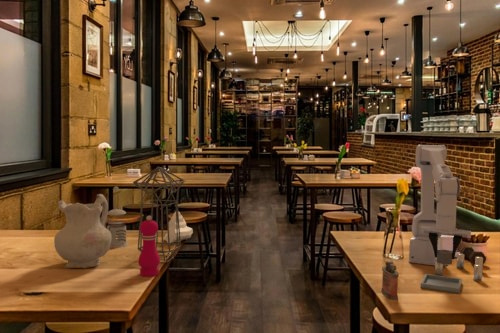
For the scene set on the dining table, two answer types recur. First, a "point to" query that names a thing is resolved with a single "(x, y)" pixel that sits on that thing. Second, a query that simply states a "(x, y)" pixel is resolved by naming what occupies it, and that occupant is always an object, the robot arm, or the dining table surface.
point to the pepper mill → (149, 249)
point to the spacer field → (460, 265)
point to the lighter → (390, 281)
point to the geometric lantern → (162, 171)
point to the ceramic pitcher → (83, 233)
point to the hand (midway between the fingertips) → (444, 257)
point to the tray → (441, 283)
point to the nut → (444, 256)
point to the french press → (115, 227)
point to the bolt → (472, 254)
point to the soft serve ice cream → (184, 230)
